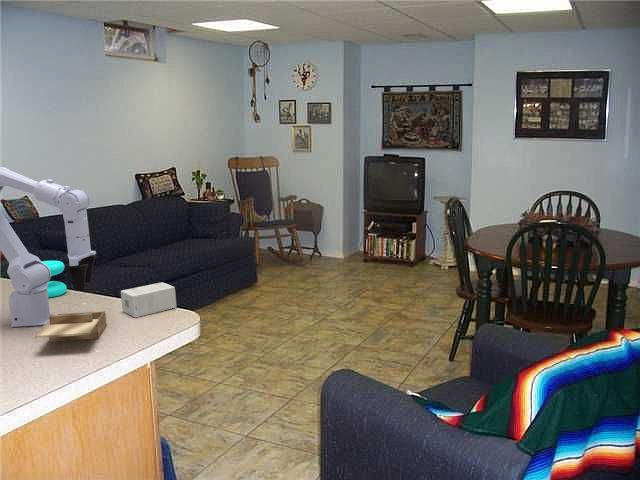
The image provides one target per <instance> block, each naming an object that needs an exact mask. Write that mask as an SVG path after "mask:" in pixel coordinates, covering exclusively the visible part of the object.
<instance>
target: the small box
mask: <svg viewBox="0 0 640 480" xmlns="http://www.w3.org/2000/svg"><path fill="white" fill-rule="evenodd" d="M120 299H121V300H120V301H121V309H122V312H123V313H125V314H127V315H129V316H130V317H133V318H140V317H143V316H147V315H153V314H155V313H161V312H163V311H168V310H173V309H176V308H177V297H176V287H175V286H172V285H170V284H168V283H165V282H161V281H160V282H157V283H152V284H148V285H147V284H146V285H142V286H138V287H133V288H128V289H123V290H120ZM172 308H173V309H172Z"/></svg>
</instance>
